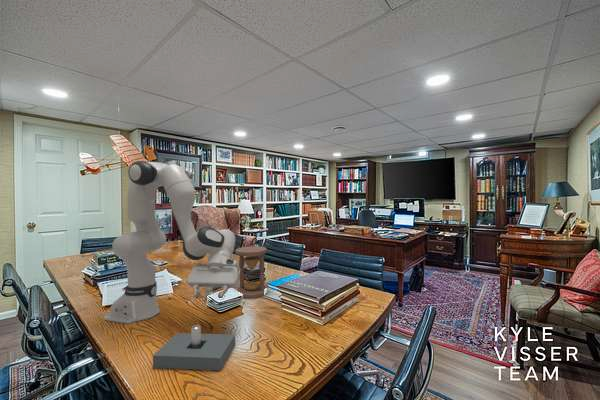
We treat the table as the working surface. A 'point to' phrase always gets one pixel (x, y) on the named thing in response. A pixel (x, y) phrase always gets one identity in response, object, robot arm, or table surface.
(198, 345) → the peg
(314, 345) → the table surface
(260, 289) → the hourglass
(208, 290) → the valve
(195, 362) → the hole block
